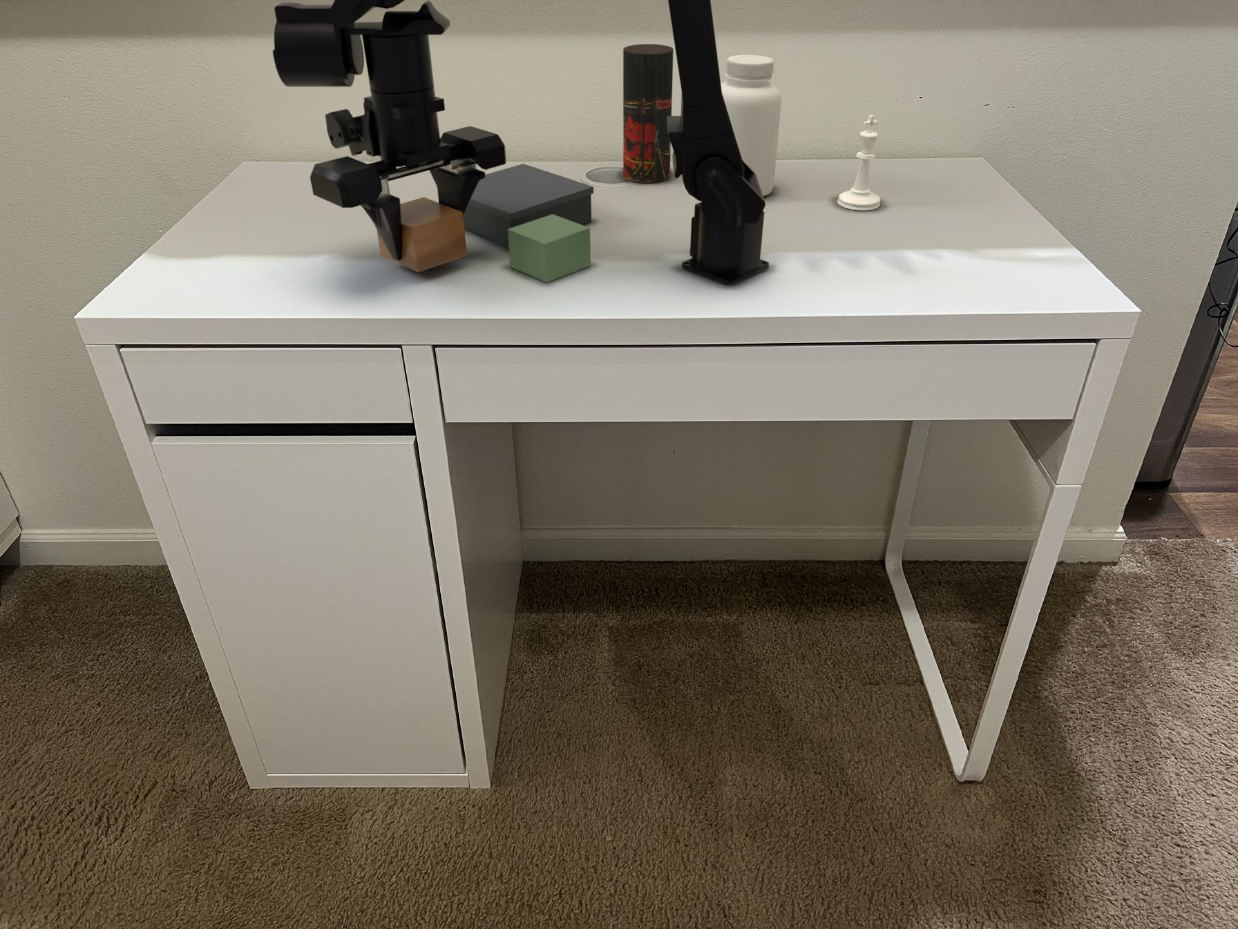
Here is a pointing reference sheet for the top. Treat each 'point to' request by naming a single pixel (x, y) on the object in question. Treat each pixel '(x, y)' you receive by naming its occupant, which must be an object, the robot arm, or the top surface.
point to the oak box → (429, 235)
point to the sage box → (549, 247)
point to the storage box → (524, 201)
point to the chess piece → (863, 174)
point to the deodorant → (647, 112)
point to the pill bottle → (754, 113)
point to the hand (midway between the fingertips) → (423, 250)
